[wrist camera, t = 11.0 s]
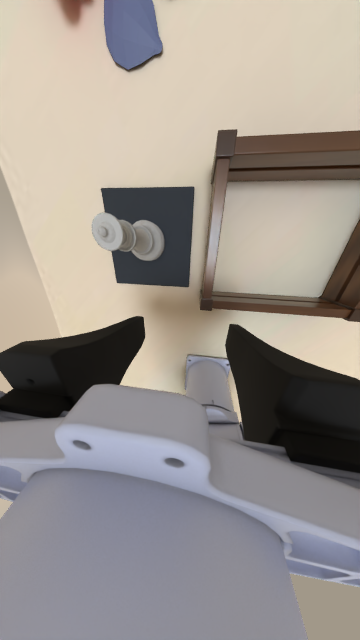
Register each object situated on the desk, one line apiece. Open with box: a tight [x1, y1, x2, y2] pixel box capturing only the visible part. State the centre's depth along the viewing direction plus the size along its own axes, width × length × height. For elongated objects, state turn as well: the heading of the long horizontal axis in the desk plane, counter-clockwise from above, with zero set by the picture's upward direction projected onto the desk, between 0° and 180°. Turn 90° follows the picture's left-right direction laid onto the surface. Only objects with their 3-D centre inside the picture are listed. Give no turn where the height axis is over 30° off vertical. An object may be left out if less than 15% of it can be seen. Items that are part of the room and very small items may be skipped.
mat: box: [101, 187, 194, 287], centre depth 18 cm, size 11×11×1 cm
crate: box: [200, 129, 360, 322], centre depth 15 cm, size 14×17×5 cm
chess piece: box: [92, 213, 165, 261], centre depth 13 cm, size 4×4×10 cm
